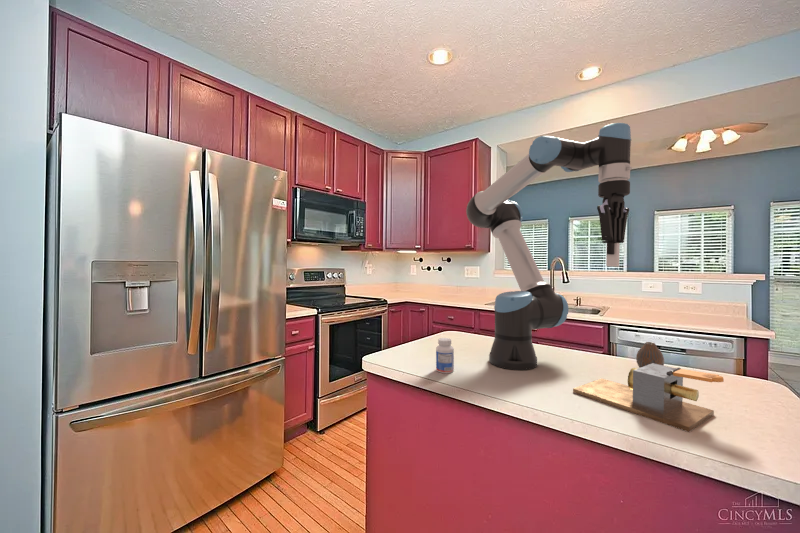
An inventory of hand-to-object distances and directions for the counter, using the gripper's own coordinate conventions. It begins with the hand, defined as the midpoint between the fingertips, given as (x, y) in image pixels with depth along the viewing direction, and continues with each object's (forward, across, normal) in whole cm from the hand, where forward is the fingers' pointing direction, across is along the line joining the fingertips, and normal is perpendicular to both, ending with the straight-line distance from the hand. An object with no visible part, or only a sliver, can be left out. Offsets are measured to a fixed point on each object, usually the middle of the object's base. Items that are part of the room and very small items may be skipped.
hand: (612, 266), depth 96 cm
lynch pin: (+30, -10, -16) cm, 35 cm away
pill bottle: (+33, -34, +32) cm, 57 cm away
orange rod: (+23, -10, -22) cm, 34 cm away
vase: (+33, +19, -2) cm, 38 cm away
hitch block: (+32, -10, -11) cm, 36 cm away
